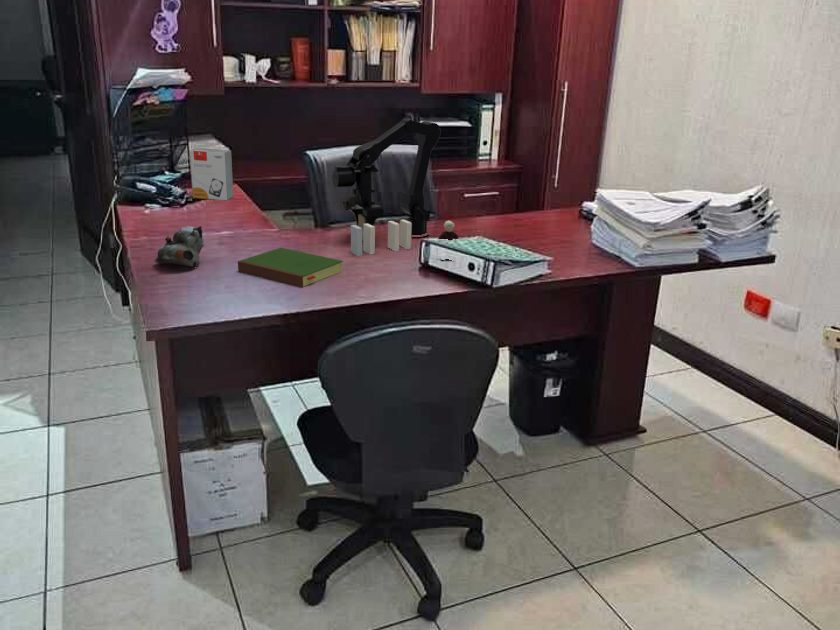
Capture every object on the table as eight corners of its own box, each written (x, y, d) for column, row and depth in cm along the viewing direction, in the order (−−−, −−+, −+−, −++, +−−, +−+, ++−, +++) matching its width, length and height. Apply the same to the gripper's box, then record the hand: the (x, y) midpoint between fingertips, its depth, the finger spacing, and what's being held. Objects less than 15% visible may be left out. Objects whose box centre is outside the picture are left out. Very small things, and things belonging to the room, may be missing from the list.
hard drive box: (192, 198, 309) (188, 150, 301) (200, 194, 316) (196, 147, 309) (227, 200, 306) (224, 152, 299) (234, 197, 313) (231, 149, 306)
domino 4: (391, 247, 247) (392, 220, 243) (399, 250, 243) (399, 224, 239) (387, 247, 246) (387, 221, 243) (394, 251, 242) (395, 224, 239)
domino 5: (403, 245, 249) (404, 219, 246) (410, 249, 245) (411, 222, 242) (399, 246, 248) (399, 219, 245) (406, 249, 244) (407, 223, 241)
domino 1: (355, 251, 240) (355, 224, 237) (362, 255, 236) (362, 228, 233) (350, 252, 239) (350, 225, 236) (357, 256, 235) (357, 228, 232)
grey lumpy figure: (150, 262, 223) (163, 218, 224) (189, 273, 228) (202, 231, 230) (160, 261, 210) (173, 214, 211) (201, 273, 215) (214, 227, 217)
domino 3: (367, 250, 242) (367, 223, 239) (374, 254, 238) (374, 226, 235) (363, 250, 241) (363, 223, 238) (370, 254, 237) (370, 227, 234)
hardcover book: (238, 273, 217) (237, 261, 216) (281, 258, 232) (280, 247, 231) (304, 289, 205) (303, 277, 204) (345, 273, 220) (344, 261, 218)
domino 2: (362, 239, 255) (362, 213, 252) (369, 242, 251) (369, 216, 248) (358, 239, 254) (358, 214, 251) (364, 243, 250) (364, 217, 247)
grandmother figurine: (440, 262, 231) (441, 223, 227) (434, 259, 234) (435, 220, 230) (461, 259, 235) (463, 220, 230) (455, 256, 238) (457, 218, 233)
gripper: (330, 182, 249) (330, 227, 255) (354, 192, 234) (354, 240, 240) (359, 180, 255) (359, 224, 260) (385, 190, 240) (384, 236, 245)
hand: (363, 231), depth 251 cm, fingers open, 6 cm apart
